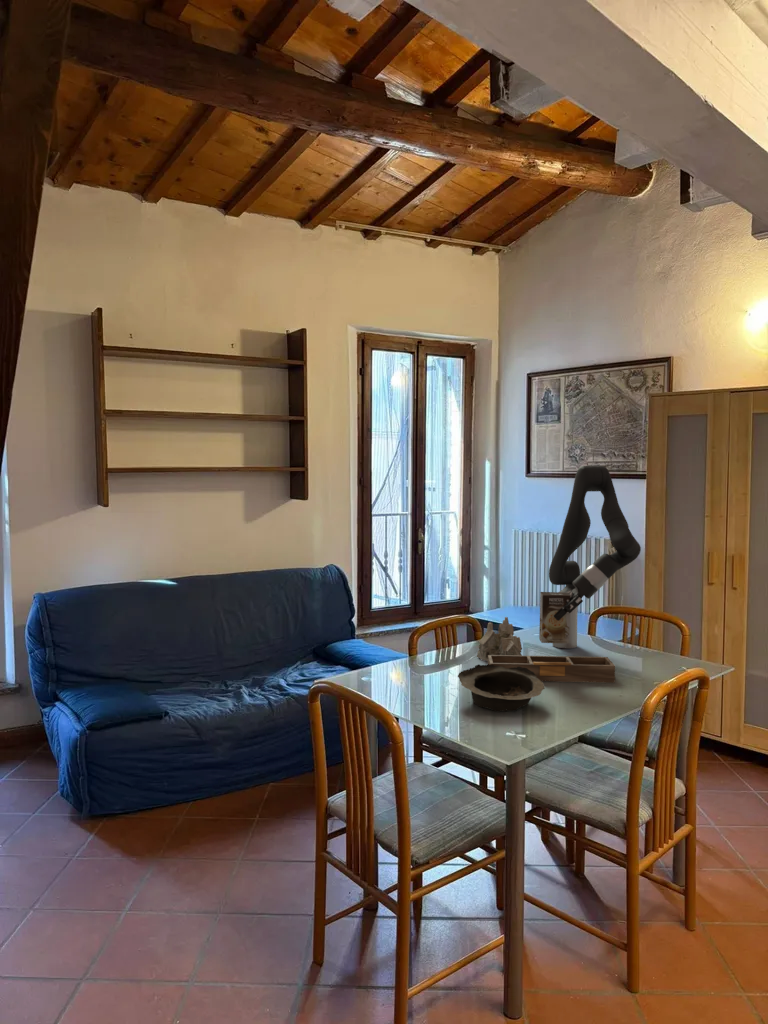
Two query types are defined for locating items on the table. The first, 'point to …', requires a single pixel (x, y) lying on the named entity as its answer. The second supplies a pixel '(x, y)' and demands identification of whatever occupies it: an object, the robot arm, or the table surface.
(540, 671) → the brown wooden compartment tray
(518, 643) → the ceramic cottage
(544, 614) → the coffee box
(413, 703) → the table surface
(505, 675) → the stone bowl
